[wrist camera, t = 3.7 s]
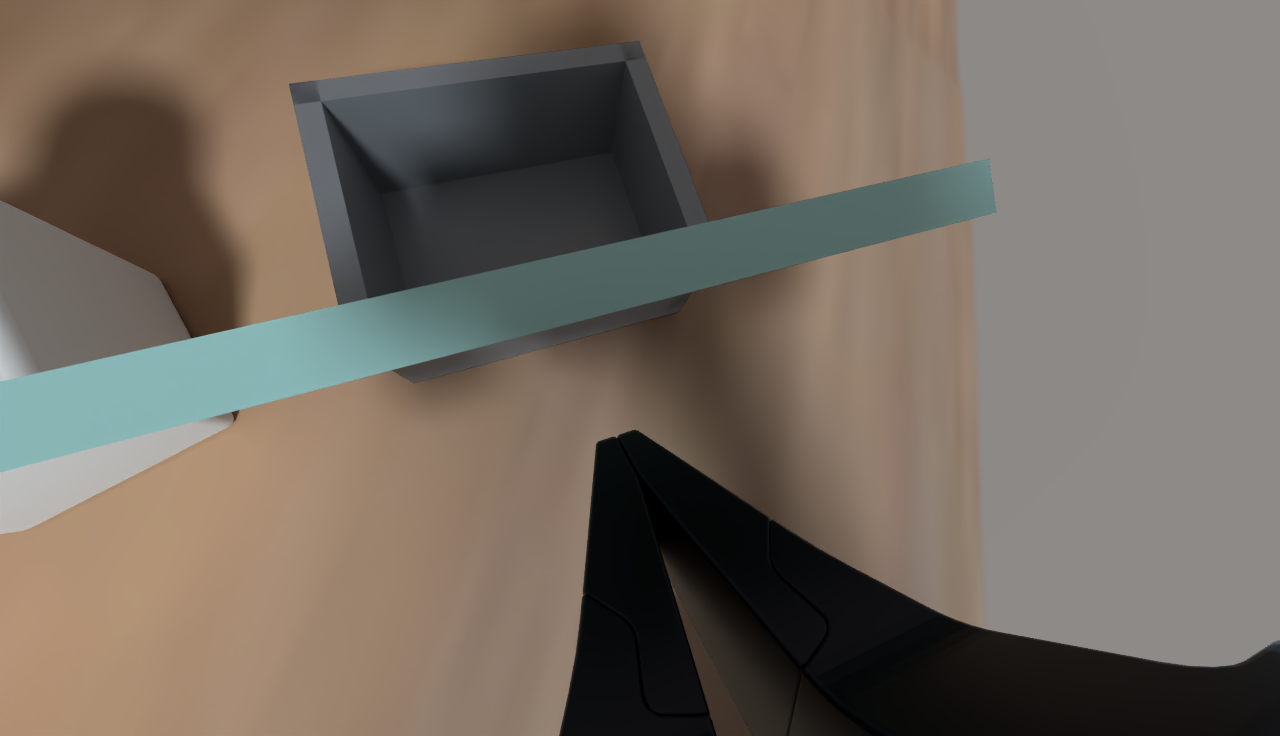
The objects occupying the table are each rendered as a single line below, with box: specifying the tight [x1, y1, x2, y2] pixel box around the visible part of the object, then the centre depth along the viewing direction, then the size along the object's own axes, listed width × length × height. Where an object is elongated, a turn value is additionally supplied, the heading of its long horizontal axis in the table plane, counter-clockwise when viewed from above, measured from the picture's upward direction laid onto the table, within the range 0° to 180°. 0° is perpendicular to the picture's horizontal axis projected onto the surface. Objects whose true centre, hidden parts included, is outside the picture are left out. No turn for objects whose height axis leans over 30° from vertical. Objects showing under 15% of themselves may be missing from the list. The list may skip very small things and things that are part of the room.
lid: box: [0, 159, 996, 472], centre depth 10 cm, size 9×12×1 cm
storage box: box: [289, 41, 708, 383], centre depth 18 cm, size 9×12×6 cm
